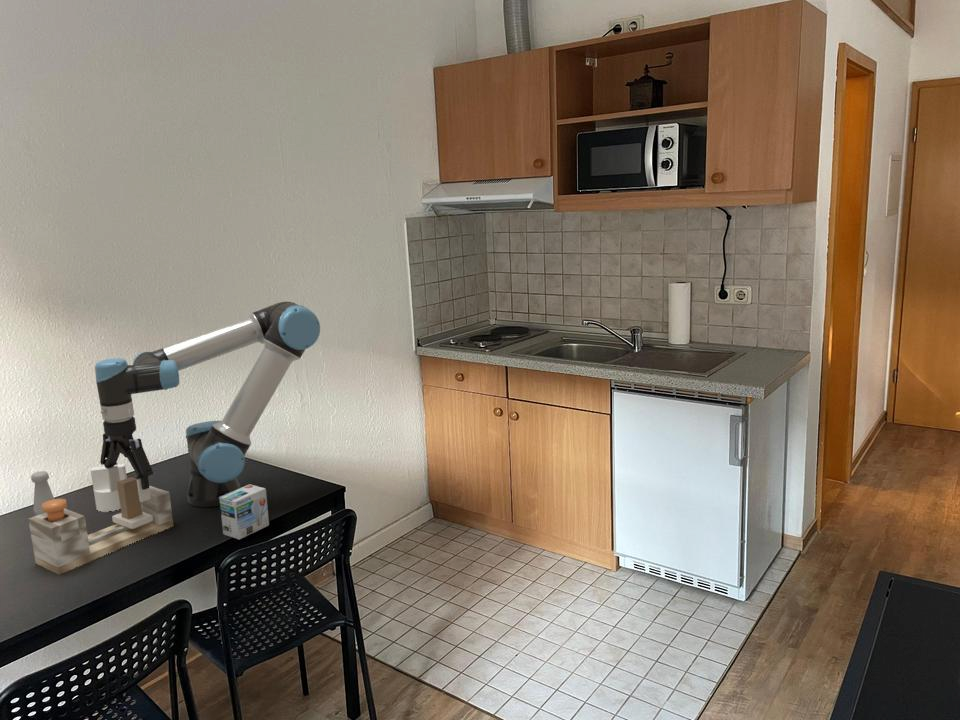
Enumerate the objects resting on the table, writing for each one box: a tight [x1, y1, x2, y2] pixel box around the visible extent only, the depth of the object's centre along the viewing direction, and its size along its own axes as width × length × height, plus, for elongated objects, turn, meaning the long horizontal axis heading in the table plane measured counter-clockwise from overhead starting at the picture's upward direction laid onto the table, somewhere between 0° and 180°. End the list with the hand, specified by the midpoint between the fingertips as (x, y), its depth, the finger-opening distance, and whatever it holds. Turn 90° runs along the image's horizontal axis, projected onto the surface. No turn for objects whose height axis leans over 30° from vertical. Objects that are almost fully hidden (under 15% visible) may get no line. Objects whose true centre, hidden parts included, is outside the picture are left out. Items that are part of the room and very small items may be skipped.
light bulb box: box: [219, 483, 270, 540], centre depth 201 cm, size 11×7×11 cm, turn 148°
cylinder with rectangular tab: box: [90, 462, 128, 513], centre depth 220 cm, size 9×9×12 cm
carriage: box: [111, 476, 153, 529], centre depth 200 cm, size 6×9×12 cm, turn 56°
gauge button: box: [42, 498, 68, 522], centre depth 184 cm, size 5×5×5 cm
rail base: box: [27, 485, 174, 576], centre depth 195 cm, size 31×11×12 cm, turn 146°
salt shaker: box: [30, 470, 55, 516], centre depth 214 cm, size 6×6×13 cm
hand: (130, 495), depth 200 cm, fingers open, 13 cm apart
